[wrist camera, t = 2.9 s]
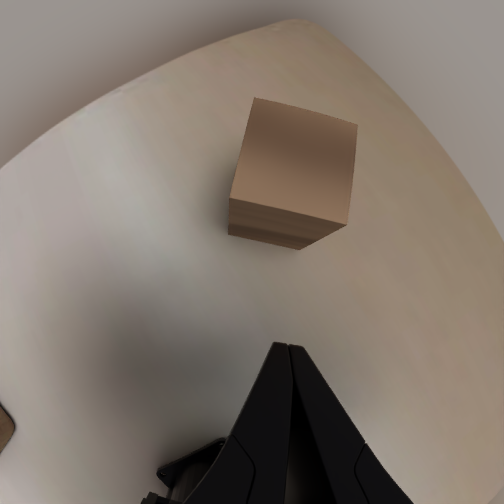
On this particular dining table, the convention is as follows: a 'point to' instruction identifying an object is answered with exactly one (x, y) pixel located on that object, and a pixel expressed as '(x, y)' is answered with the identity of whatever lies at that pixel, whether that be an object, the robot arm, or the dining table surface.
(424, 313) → the dining table surface
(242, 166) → the walnut block
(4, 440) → the wooden block
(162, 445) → the dining table surface
